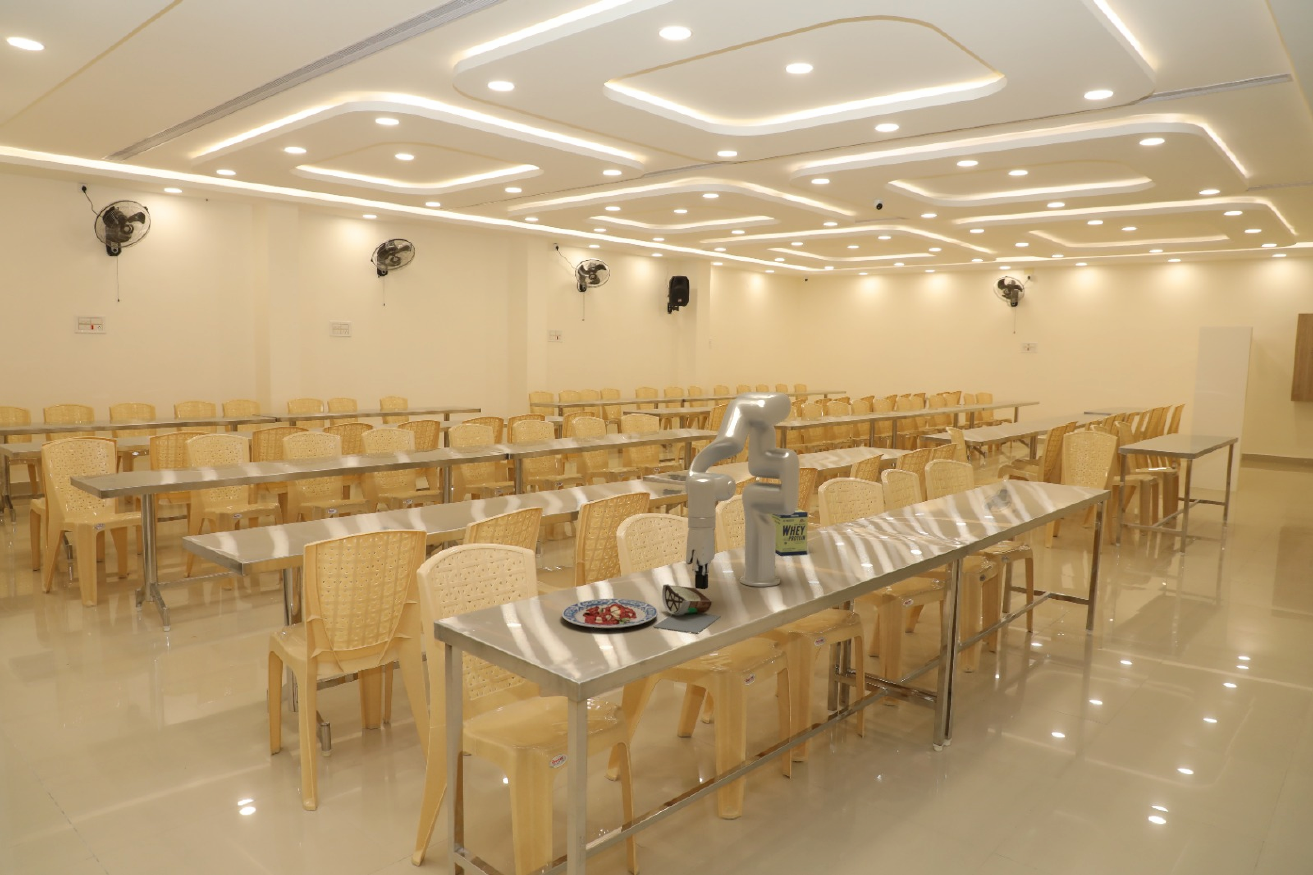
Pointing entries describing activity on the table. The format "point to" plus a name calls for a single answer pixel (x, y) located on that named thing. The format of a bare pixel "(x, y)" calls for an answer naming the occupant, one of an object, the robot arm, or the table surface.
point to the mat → (687, 622)
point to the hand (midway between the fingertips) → (701, 588)
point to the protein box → (791, 533)
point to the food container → (684, 600)
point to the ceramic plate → (609, 613)
